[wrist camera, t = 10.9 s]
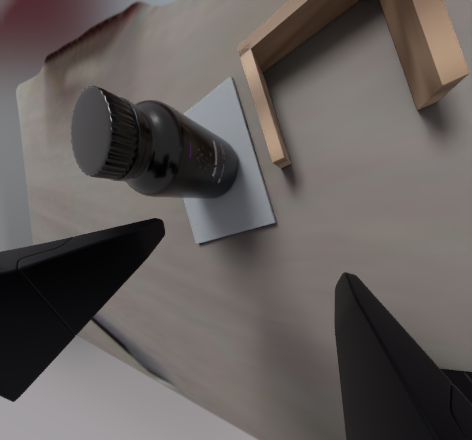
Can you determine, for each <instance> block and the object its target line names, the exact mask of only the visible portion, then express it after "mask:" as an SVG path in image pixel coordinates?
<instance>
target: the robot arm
mask: <svg viewBox="0 0 472 440" xmlns="http://www.w3.org/2000/svg"><path fill="white" fill-rule="evenodd" d="M164 235H165V228H164V223H163V221H162V220H161V219H157V218H153V219H149V220H144V221H140V222H136V223H131V224H127V225H123V226H118V227H114V228H110V229H105V230H101V231H97V232H92V233H88V234H83V235H79V236H75V237H70V238H66V239H62V240H57V241H52V242H48V243H43V244H38V245H33V246H28V247H23V248H18V249H13V250H7V251H2V252H0V396H2V397H4V398H6V399H8V400H10V401H12V402H14V401H16V399H18V398H19V397H20V396H21V394H23V393H24V392H25V390H26V389H27V388H28V387H29V386H30V385H31V384H32V383H33V382H34V381H35V380H36V379H37V377H38V376H39V375H40V374H41V373H42V372H43V371H44V370H45V369H46V368H47V367H48V365H50V363H51V362H52V361H53V360H54V359H55V358H56V357H57V356H58V355H59V354H60V353H61V351H62V350H63V349H64V348H65V347H66V346H67V345H68V344H69V343H70V342H71V341H72V339H73V338H74V337H75V335H77V334H78V333H79V332H80V331H81V330H82V328H83V327H84V326H85V325H86V324H87V323H88V322H89V321H90V320H91V319H92V318H93V317H94V315H95V314H96V313H97V312H98V311H99V310H100V309H101V308H102V307H103V306H104V305H105V303H106V302H107V301H108V300H109V299H110V298H111V297H112V296H113V295H114V294H115V293H116V292H117V290H118V289H119V288H120V287H121V286H122V285H123V284H124V283H125V282H126V281H127V280H128V279H129V277H130V276H131V275H132V274H133V273H134V272H135V271H136V270H137V269H138V268H139V267H140V266H141V264H142V263H143V262H144V261H145V260H146V259H147V258H148V257H149V255H150V254H151V253H152V251H153V250H154V249H155V247H156V246H157V245H158V244H159V242H160V241H161V240H162V238H163V237H164ZM335 336H336V345H337V355H338V364H339V374H340V383H341V392H342V402H343V411H344V420H345V430H346V439H347V440H472V372H464V371H455V370H446V369H440V368H439V367H438V366H437V365H436V364H435V363H434V362H433V361H432V359H431V358H430V357H429V356H428V355H427V354H426V353H425V352H424V351H423V349H422V348H421V347H420V346H419V345H418V344H417V343H416V342H415V340H414V339H413V338H412V337H411V336H410V335H409V334H408V333H407V332H406V330H405V329H404V328H403V327H402V326H401V325H400V324H399V323H398V321H397V320H396V319H395V318H394V317H393V316H392V315H391V314H390V313H389V311H388V310H387V309H386V308H385V307H384V306H383V305H382V304H381V302H380V301H379V300H378V299H377V298H376V297H375V296H374V295H373V294H372V292H371V291H370V290H369V289H368V288H367V287H366V286H365V285H364V283H363V282H362V281H361V280H360V279H359V278H358V277H357V276H356V275H354V274H350V273H347V272H345V273H343V274H342V276H341V277H340V279H339V281H338V283H337V285H336V288H335Z"/></svg>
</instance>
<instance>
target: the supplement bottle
mask: <svg viewBox="0 0 472 440" xmlns="http://www.w3.org/2000/svg"><path fill="white" fill-rule="evenodd" d="M71 143H72V150H73V153H74V157H75V159H76V163H77V164H78V166H79V168H80V169H81V170H82V172H84V173H85V174H86V175H89V176H91V177H97V178H106V179H111V180H114V181H126V182H127V184H128V185H129V186H130V187H131V188H133V189H134V190H135V191H137V192H139V193H140V194H143V195H146V196H152V197H171V198H198V199H214V198H218V197H221V196H223V195H224V194H226V193H227V192H228V191H229V190H230V189H231V187H232V186H233V184H234V182H235V180H236V177H237V172H238V161H237V156H236V153H235V151H234V149H233V148H232V146H231V145H230V144H229V143H228V142H226V141H225V140H224V139H222V138H221V137H219V136H217V135H216V134H214V133H213V132H211V131H209V130H208V129H206V128H204V127H203V126H201V125H200V124H198V123H196V122H195V121H193V120H192V119H190V118H188V117H187V116H185V115H183V114H182V113H180V112H179V111H177V110H175V109H174V108H172V107H170V106H169V105H167V104H165V103H163V102H160V101H156V100H147V101H142V102H139V103H137V104H133V103H132V102H130V101H128V100H126V99H124V98H121V97H118V96H116V95H114V94H112V93H110V92H108V91H106V90H104V89H102V88H99V87H97V86H94V85H93V86H88V87H87V88H84V90H83V91H82V92H81V93H80V95H79V96H78V98H77V101H76V103H75V106H74V109H73V115H72V120H71Z"/></svg>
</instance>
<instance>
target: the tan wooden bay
mask: <svg viewBox="0 0 472 440" xmlns="http://www.w3.org/2000/svg"><path fill="white" fill-rule="evenodd" d="M358 1H359V0H289V1H288V2H286V3H285V4H284V5H283V6H282V7H281V8H280V9H279V10H278V11H276V12H275V13H274V14H273V15H272V16H271V17H270V18H269V19H267V20H266V21H265V22H264V23H263V24H262V25H261V26H260V27H259V28H257V29H256V30H255V31H254V32H253V33H252V34H251V35H250V36H248V37H247V38H246V39H245V40H244V41H243V42H242V43H241V44H240V45H238V46H237V48H238V51H239V54H240V58H241V61H242V64H243V68H244V71H245V74H246V77H247V81H248V84H249V87H250V90H251V94H252V97H253V100H254V104H255V107H256V110H257V113H258V117H259V120H260V123H261V126H262V130H263V133H264V136H265V140H266V143H267V146H268V149H269V153H270V156H271V159H272V162H273V163H274V164H275V165H277V166H278V167H280V168H283V167H285V166H288V165H290V164H291V162H290V159H289V156H288V152H287V149H286V146H285V143H284V140H283V136H282V133H281V130H280V127H279V123H278V120H277V117H276V114H275V111H274V107H273V104H272V101H271V98H270V94H269V91H268V88H267V85H266V81H265V78H264V75H263V72H264V71H265V70H267V69H268V68H269V67H271V66H272V65H273V64H275V63H276V62H277V61H279V60H280V59H282V58H283V57H284V56H286V55H287V54H288V53H290V52H291V51H292V50H294V49H295V48H296V47H298V46H299V45H300V44H302V43H303V42H304V41H306V40H307V39H308V38H310V37H311V36H312V35H314V34H315V33H316V32H318V31H319V30H320V29H322V28H323V27H325V26H326V25H327V24H329V23H330V22H331V21H333V20H334V19H335V18H337V17H338V16H339V15H341V14H342V13H343V12H345V11H346V10H347V9H349V8H350V7H351V6H353V5H354V4H355V3H357V2H358ZM380 3H381V6H382V9H383V12H384V15H385V18H386V21H387V24H388V27H389V30H390V32H391V35H392V38H393V41H394V44H395V47H396V50H397V53H398V56H399V59H400V62H401V64H402V67H403V70H404V73H405V76H406V79H407V82H408V85H409V88H410V91H411V94H412V96H413V99H414V102H415V105H416V108H417V110H420V109H422V108H424V107H427V106H429V105H431V104H434V103H436V102H438V101H439V100H440V99H441V98H442V97H443V96H444V95H446V94H447V93H448V92H449V91H450V90H451V89H452V88H453V87H455V86H456V85H457V84H458V83H459V82H460V81H461V80H462V79H464V78H465V77H466V76H467V75H468V74H469V70H468V68H467V65H466V62H465V59H464V56H463V54H462V51H461V48H460V45H459V43H458V40H457V37H456V34H455V31H454V29H453V26H452V23H451V20H450V18H449V15H448V12H447V9H446V6H445V4H444V1H443V0H380Z"/></svg>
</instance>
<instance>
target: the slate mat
mask: <svg viewBox="0 0 472 440" xmlns="http://www.w3.org/2000/svg"><path fill="white" fill-rule="evenodd" d="M183 115H185V116H187V117H188V118H190V119H192V120H193V121H195V122H196V123H198V124H200V125H201V126H203V127H204V128H206V129H208V130H209V131H211V132H213V133H214V134H216V135H217V136H219V137H221V138H222V139H224V140H225V141H226V142H228V143H229V144H230V145H231V146H232V148H233V149H234V151H235V153H236V156H237V161H238V172H237V177H236V180H235V182H234V184H233V186H232V187H231V189H230V190H229V191H228V192H227V193H226V194H224V195H223V196H221V197H218V198H214V199H198V198H183V199H184V203H185V207H186V210H187V214H188V217H189V221H190V224H191V228H192V231H193V235H194V238H195V242H196V244H198V243H202V242H206V241H209V240H213V239H217V238H220V237H224V236H228V235H232V234H235V233H239V232H243V231H246V230H250V229H254V228H257V227H261V226H265V225H268V224H272V223H276V219H275V216H274V212H273V209H272V206H271V202H270V199H269V196H268V192H267V189H266V186H265V182H264V179H263V176H262V173H261V169H260V166H259V163H258V159H257V156H256V153H255V149H254V146H253V143H252V139H251V136H250V133H249V129H248V126H247V123H246V120H245V116H244V113H243V110H242V106H241V103H240V100H239V96H238V93H237V90H236V86H235V83H234V80H233V78H232V76H230V77H228V78H227V79H226V80H225V81H224V82H222V83H221V84H220V85H219V86H217V87H216V88H215V89H214V90H212V91H211V92H210V93H209V94H208V95H206V96H205V97H204V98H203V99H201V100H200V101H199V102H198V103H197V104H195V105H194V106H193V107H192V108H190V109H189V110H188V111H187V112H185V113H184V114H183Z"/></svg>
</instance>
